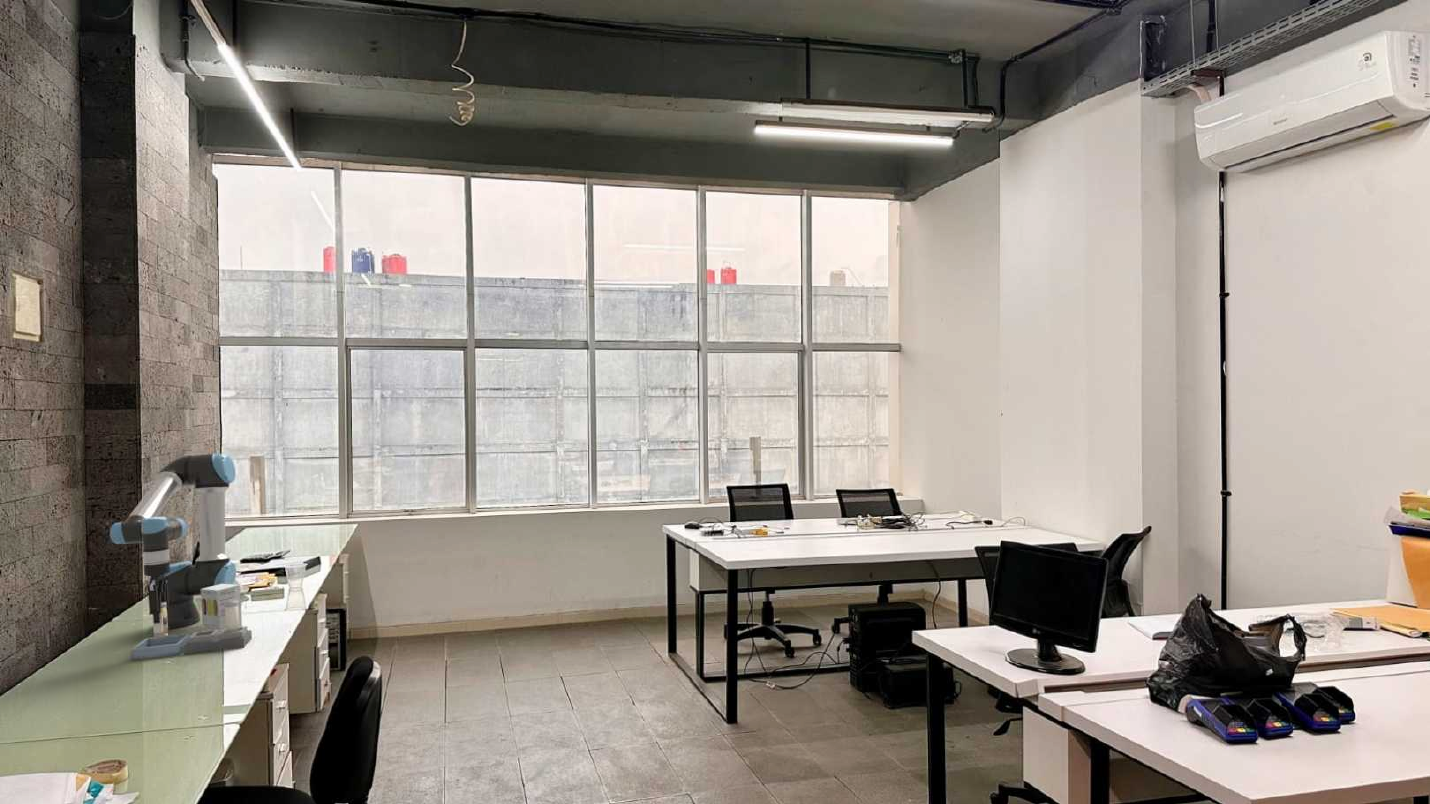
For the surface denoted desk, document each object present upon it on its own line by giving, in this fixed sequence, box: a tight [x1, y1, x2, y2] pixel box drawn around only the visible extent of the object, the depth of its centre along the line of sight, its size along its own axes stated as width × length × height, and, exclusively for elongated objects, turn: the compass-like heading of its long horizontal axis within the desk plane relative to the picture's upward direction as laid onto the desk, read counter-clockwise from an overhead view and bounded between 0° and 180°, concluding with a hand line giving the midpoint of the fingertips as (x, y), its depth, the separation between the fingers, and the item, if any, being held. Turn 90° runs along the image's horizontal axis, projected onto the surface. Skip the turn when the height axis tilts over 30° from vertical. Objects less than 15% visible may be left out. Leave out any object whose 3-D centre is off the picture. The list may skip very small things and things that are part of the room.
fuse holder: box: [184, 600, 253, 655], centre depth 302 cm, size 11×18×15 cm, turn 106°
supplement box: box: [200, 584, 243, 633], centre depth 321 cm, size 10×9×17 cm
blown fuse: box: [153, 602, 169, 640], centre depth 299 cm, size 4×4×12 cm
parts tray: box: [130, 633, 192, 661], centre depth 299 cm, size 14×14×4 cm
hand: (160, 630), depth 299 cm, fingers closed on blown fuse, 4 cm apart
